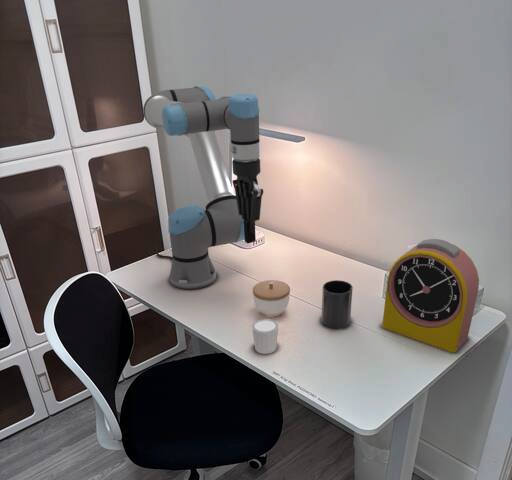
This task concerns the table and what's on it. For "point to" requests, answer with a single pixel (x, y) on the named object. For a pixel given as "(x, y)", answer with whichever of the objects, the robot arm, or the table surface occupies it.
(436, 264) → the alarm clock
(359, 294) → the table surface
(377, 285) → the table surface
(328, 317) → the pen cup
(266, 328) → the white cylinder
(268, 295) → the trinket box
